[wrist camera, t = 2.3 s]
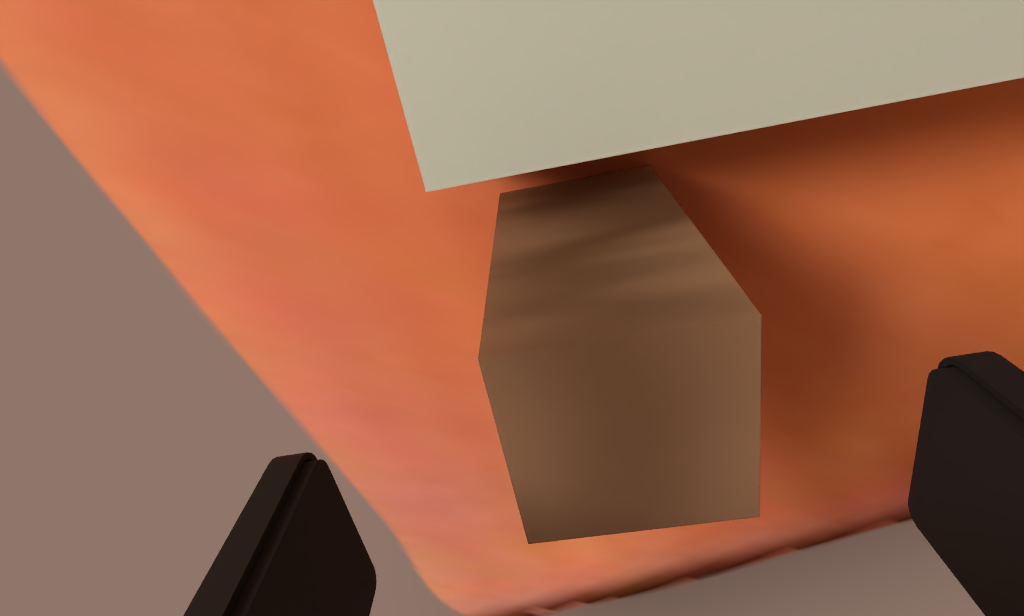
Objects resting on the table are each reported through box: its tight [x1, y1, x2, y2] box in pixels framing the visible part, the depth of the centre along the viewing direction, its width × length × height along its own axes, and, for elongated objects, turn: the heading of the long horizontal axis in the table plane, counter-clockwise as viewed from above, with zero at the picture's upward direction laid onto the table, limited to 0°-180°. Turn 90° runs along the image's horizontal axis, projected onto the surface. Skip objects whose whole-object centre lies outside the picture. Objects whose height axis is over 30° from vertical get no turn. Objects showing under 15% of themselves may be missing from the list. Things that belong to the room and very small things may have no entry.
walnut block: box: [478, 165, 761, 544], centre depth 13 cm, size 4×4×8 cm
